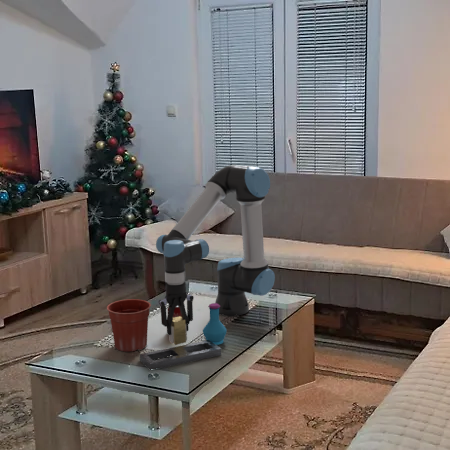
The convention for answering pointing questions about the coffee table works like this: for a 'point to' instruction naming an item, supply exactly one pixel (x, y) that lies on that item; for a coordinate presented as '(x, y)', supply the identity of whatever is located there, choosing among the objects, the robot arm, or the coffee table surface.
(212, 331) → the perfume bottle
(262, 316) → the coffee table surface
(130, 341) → the flower pot
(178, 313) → the soda can
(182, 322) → the yellow wooden block
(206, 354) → the grey slotted tray
